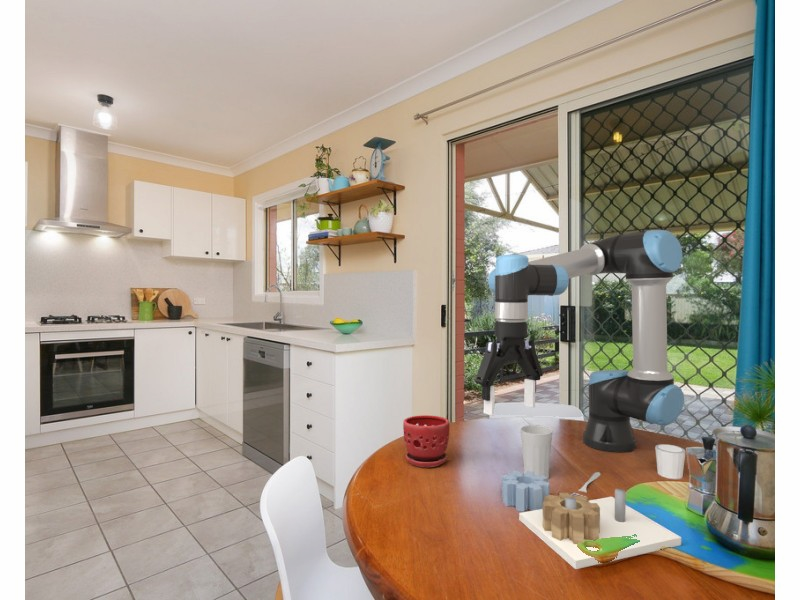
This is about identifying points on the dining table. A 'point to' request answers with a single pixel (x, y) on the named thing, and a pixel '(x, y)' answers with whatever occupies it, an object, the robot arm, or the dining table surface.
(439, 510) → the dining table surface
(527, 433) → the cup
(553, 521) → the gear
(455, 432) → the dining table surface
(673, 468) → the short white tumbler
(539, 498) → the gear
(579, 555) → the gear board
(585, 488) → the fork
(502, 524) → the dining table surface
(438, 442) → the plant pot
